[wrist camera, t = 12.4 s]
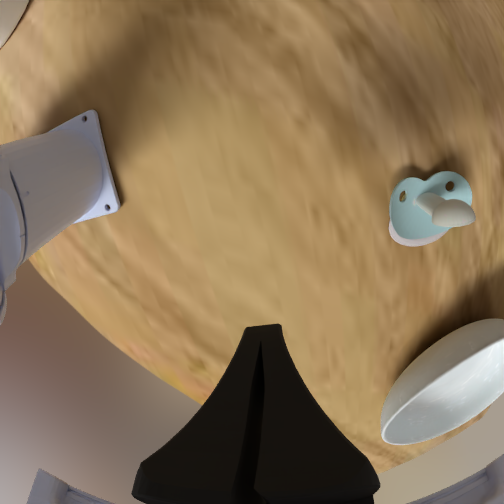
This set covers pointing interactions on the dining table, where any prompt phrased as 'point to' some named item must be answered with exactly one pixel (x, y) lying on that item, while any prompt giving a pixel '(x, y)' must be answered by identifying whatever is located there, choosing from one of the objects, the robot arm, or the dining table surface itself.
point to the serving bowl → (446, 384)
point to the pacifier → (429, 208)
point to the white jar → (10, 17)
